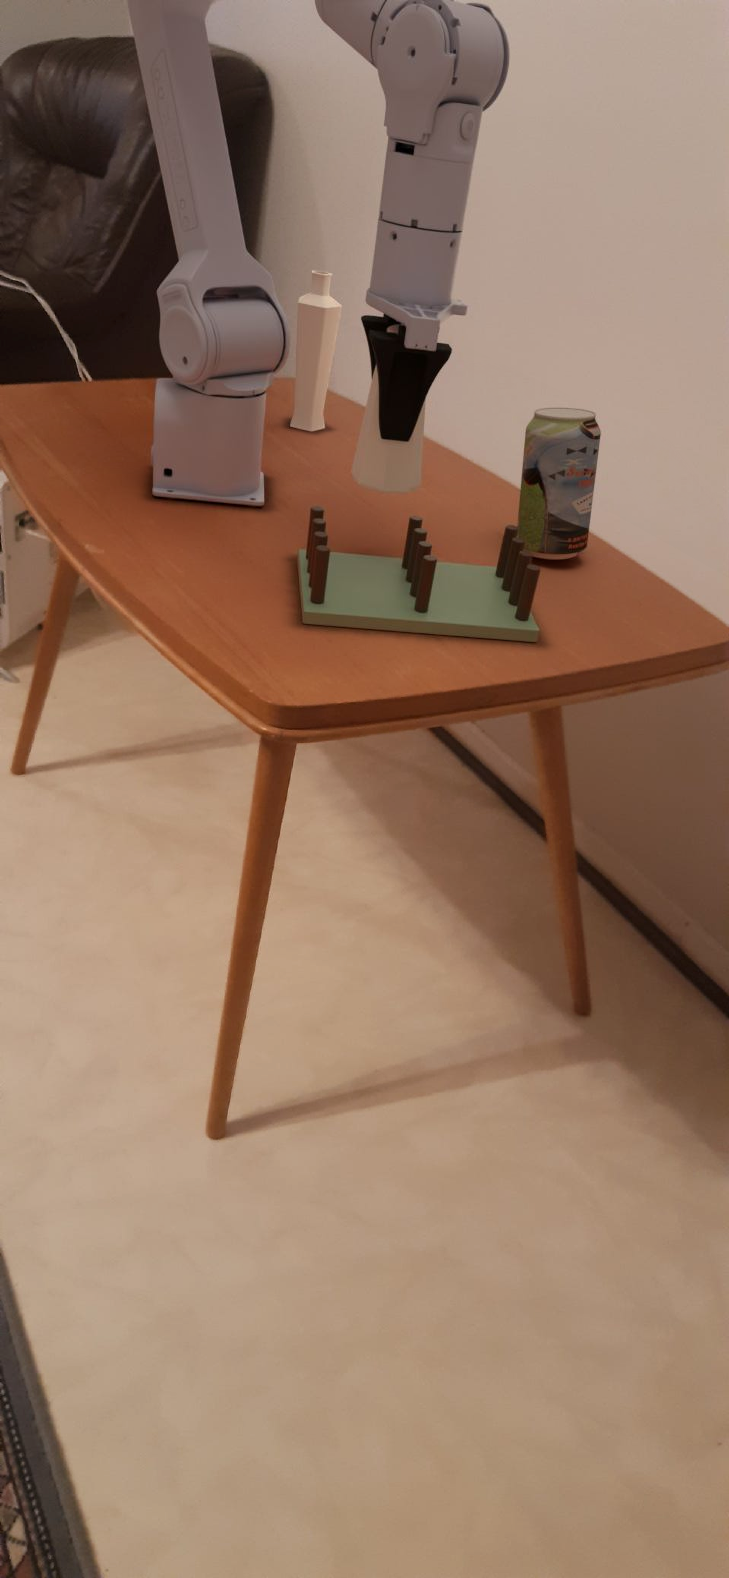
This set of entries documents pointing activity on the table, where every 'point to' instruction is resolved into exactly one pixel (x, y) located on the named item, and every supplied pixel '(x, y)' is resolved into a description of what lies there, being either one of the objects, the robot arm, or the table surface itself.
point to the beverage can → (558, 481)
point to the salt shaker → (387, 450)
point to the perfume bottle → (314, 351)
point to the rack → (418, 588)
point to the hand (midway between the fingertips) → (391, 430)
